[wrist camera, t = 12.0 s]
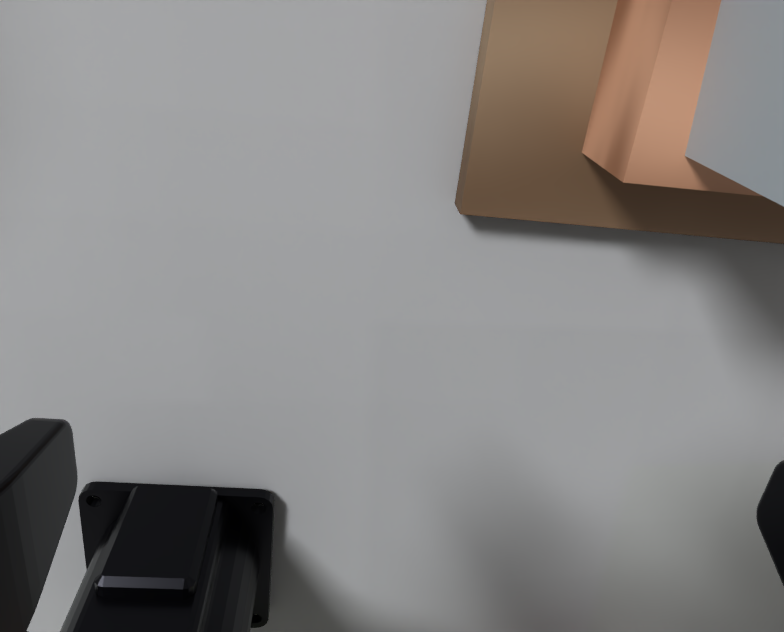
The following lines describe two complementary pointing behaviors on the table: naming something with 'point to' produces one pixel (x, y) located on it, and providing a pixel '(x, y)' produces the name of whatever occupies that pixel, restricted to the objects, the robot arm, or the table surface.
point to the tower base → (549, 132)
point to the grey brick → (744, 98)
